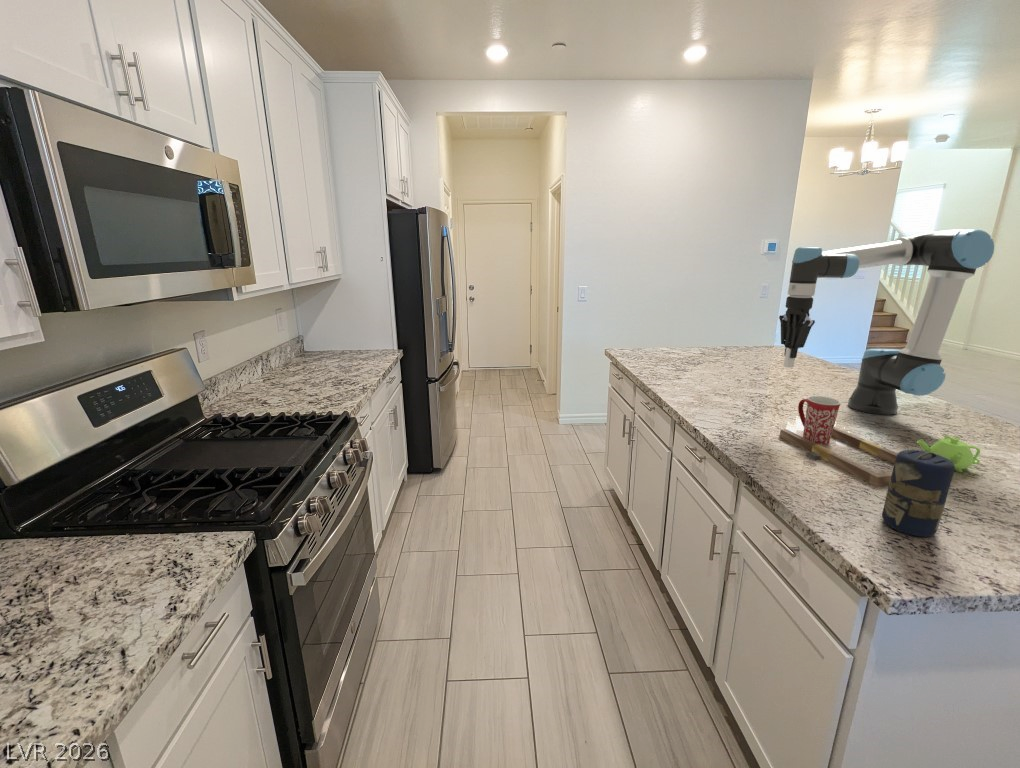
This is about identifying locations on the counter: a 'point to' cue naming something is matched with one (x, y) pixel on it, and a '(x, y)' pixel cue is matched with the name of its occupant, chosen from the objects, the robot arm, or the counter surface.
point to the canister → (917, 492)
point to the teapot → (953, 452)
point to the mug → (819, 418)
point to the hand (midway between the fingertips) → (788, 366)
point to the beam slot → (856, 469)
